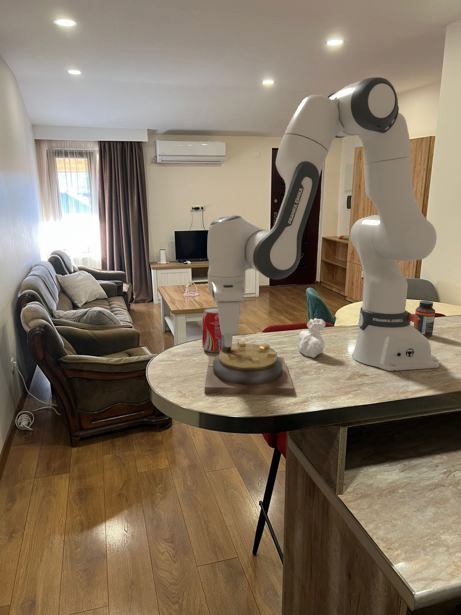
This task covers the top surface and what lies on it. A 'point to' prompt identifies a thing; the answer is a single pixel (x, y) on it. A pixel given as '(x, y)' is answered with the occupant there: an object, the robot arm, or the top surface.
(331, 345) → the top surface
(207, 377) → the cap housing
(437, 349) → the top surface
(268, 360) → the gold dial with handle
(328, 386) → the top surface
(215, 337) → the soda can
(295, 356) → the top surface
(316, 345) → the white tied sack
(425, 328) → the supplement bottle
